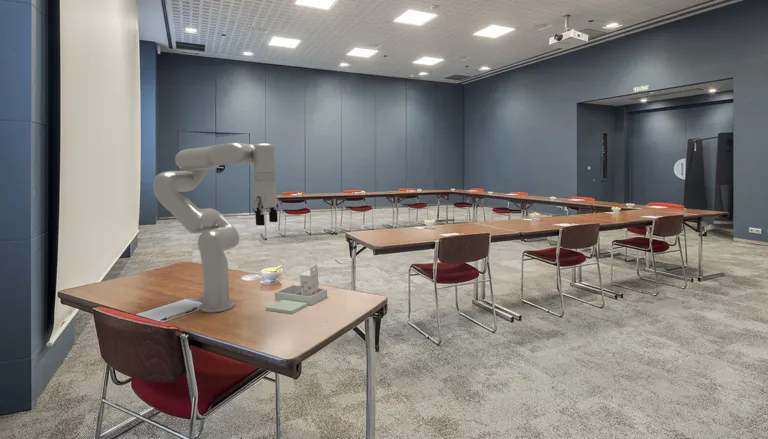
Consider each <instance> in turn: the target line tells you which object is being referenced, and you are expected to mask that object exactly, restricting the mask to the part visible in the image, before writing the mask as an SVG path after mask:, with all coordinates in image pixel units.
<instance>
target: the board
mask: <svg viewBox="0 0 768 439" xmlns="http://www.w3.org/2000/svg"><path fill="white" fill-rule="evenodd" d="M307 307H308V305H307V303H302V302H295V301H288V300H281V301H277V302H275V303H272V304H270V305H268V306H267V307H265V308H266V309H265V310H266V311H269V312H276V313H282V314H287V315H288V314H289V315H293V314H295V313H297V312H298V311H301V310H302V309H304V308H307Z"/></svg>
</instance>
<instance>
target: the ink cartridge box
mask: <svg viewBox="0 0 768 439" xmlns="http://www.w3.org/2000/svg"><path fill="white" fill-rule="evenodd" d="M299 278H300V279H299V280H300V282H299V283H300V285H299V286H301V295H303V296H312V295H314V294H316V293H318V292H319V289H318V288H319V270H318V264H317V263H316V264H314V265H312V266H311V267H310V268H309V270H306V271H304V272H303V273H301V274H300V275H299Z"/></svg>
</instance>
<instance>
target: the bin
mask: <svg viewBox="0 0 768 439" xmlns="http://www.w3.org/2000/svg"><path fill="white" fill-rule="evenodd" d="M318 289H319V292H318V293H316V294H314V295H312V296H303V295H301V285H297V284H291V285H288V286H286V287H284V288H281V289H279V290H277V291H275V292H274V301H277V302H279V301H281V300H288V301H295V302H302V303H307V306H313V305H315V304H316V303H318V302H320V301H322V300H324V299H327V298H328V288H321V287H318Z"/></svg>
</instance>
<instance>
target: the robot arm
mask: <svg viewBox="0 0 768 439" xmlns="http://www.w3.org/2000/svg"><path fill="white" fill-rule="evenodd" d="M275 156H276V155H275V147H274V144H271V143H266V142H265V143H263V142H262V143H256V144H254V143H253V144H251V143H241V142H227V143H220V144H214V145H210V146H203V147H195V148H194V147H193V148H185V149H182V150H180V151H179V152H178V153H176V155H175V158H174V161H175V165H176V166H177V167H178V168H180V170H169V171H162V172H160V173H158V174H157V175H155V177H154V179H153V182H152V190H153V193H154V196H155V198H156V199H157V201H158V202H159V203H160V204H161V205H162V206H163V207H164V208H165V209H166V210H167V211H168V212H170V213H171V215H172V216H174V218H175V219H176V220H177V221H178V222H179V223H180V224H181V225H182V226H183V227H184V228H185V230H187V232H189V233H190V234H193V235H197V234H200V235H199V237H198V239H197V246H198V250H199V253H200V260H201V270H202V287H203V294H202V295H200V297H198V300H197V301H198V302H202V304H201V305H200V307H199V310H200V311H201V312H203V313H209V314H211V313H220V312H225V311H229V310H232V309H233V308H234V306H235V303H234V301H232V300H231V297H230V278H229V263H228V259H227V257H226V254H225V251H228V250H232V249H233V248H235V247H237V245H239V242H240V234H239V232H238V231H237V229H236V228H235V226H234V225H233V224H232V223H231V222H229V220H228V219H227V218H226V217H225V216H224V215H223V214H222V213H221V212H220V211H218V210H217V209H215V208H211V207H205V208H200V207H198V206H196V204H195V203H194V202H192V201H191V199H189V198H188V197H186V196H185V195H183V194H182V193H185V192H192V191H193V190H194V189H196V188H198V185H200V183H201V182H202V181H203V179H204V178H205V176H206V175H207V173H208V172H209V171H210V170H215V169H218V168H219V167H220V166H226V165H227V166H228V165H253V173H254V174H253V176H254V177H253V179H254V181H253V191H252V203H251V204H252V208H253V210H252V211H254V215H255V225H256V226H262V227H263V226H265V225H266V224H265V214H264V211H265V209H266V210H267V209H269V212H268V217H269V218H268V221H269V223H278V222H279V221H278V218H279V217H278V211H279V210H278V207H279V201H280V200H279V198H278V194H277V187H276V186H277V185H276V181H277V180H276V161H275V160H276V159H275Z"/></svg>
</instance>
